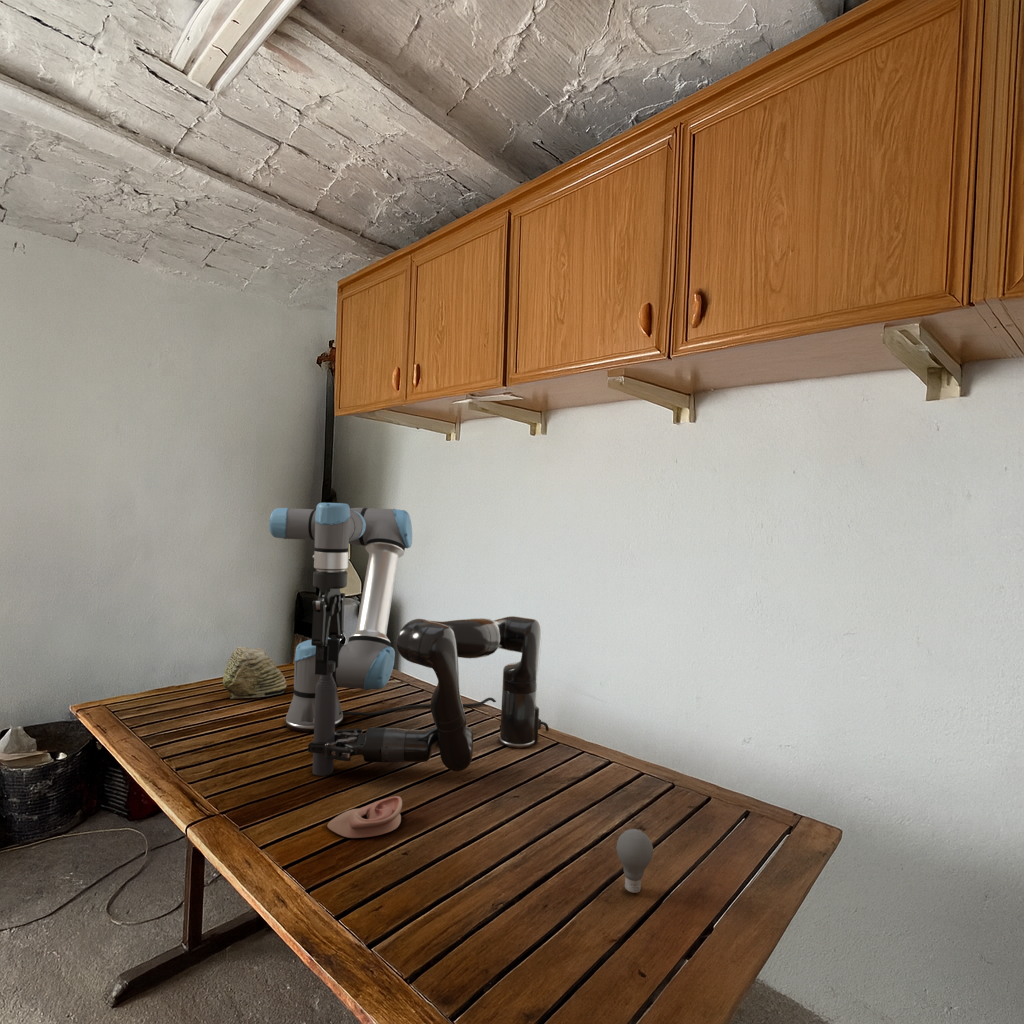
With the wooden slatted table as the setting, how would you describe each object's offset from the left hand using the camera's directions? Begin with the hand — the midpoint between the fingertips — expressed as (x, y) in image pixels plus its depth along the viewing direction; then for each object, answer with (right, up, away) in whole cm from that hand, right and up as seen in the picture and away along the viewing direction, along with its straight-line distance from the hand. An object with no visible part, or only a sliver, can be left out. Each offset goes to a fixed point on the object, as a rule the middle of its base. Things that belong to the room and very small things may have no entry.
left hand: (326, 670), depth 145 cm
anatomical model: (+14, -25, -22) cm, 36 cm away
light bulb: (+63, -27, -40) cm, 79 cm away
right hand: (-3, -17, 0) cm, 17 cm away
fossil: (-38, -21, +53) cm, 68 cm away
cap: (0, +2, 0) cm, 2 cm away
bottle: (-1, -23, 0) cm, 23 cm away
